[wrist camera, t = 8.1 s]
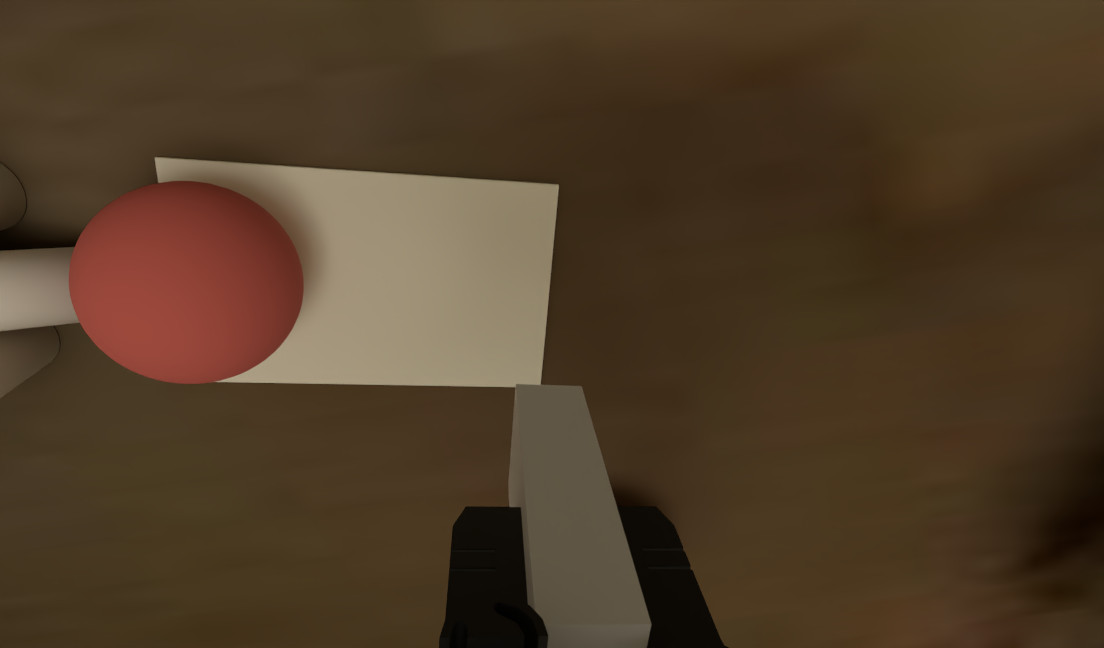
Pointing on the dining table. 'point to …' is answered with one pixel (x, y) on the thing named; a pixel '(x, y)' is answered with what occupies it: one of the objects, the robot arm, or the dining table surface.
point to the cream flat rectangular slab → (403, 273)
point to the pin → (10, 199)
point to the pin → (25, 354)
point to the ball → (186, 282)
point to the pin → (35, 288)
